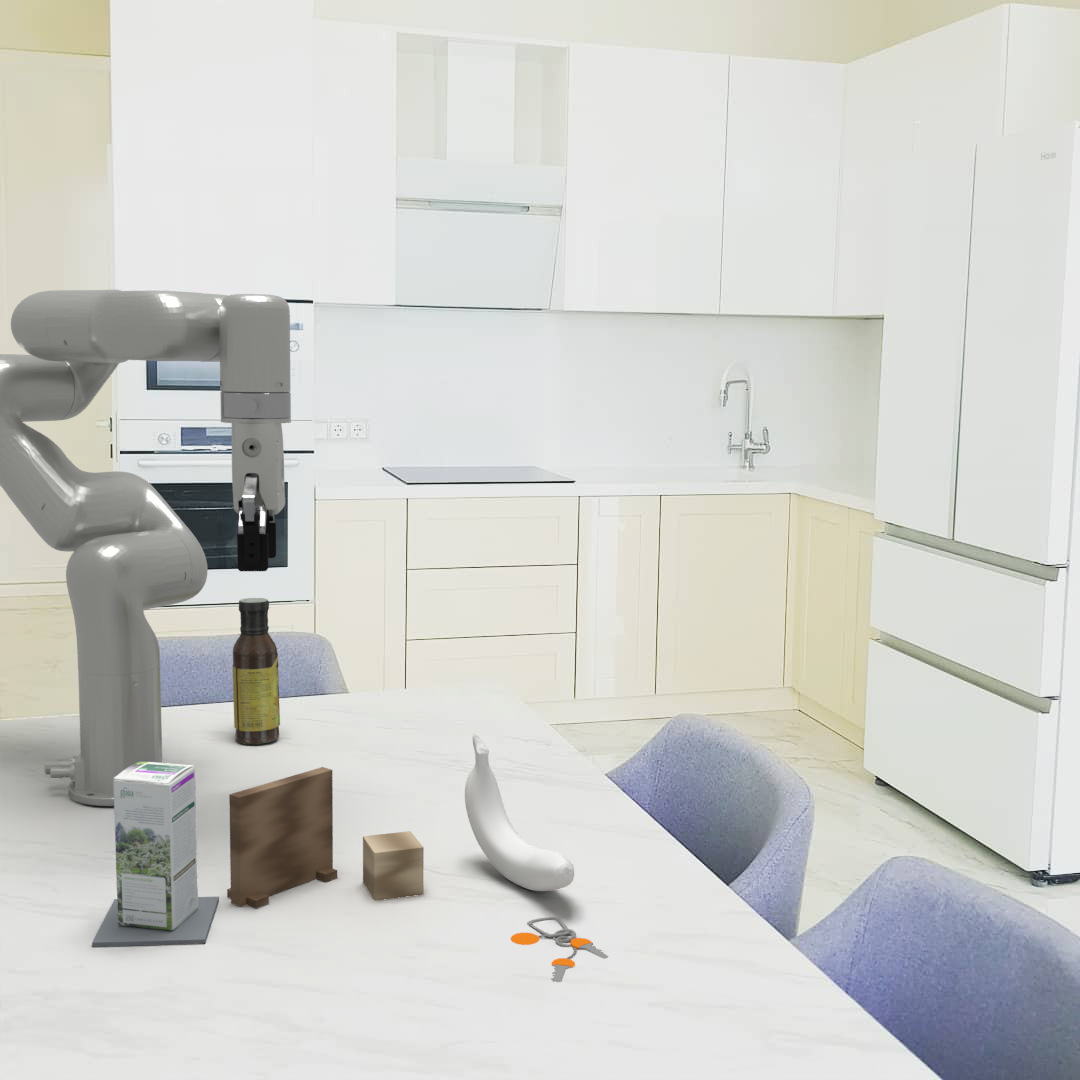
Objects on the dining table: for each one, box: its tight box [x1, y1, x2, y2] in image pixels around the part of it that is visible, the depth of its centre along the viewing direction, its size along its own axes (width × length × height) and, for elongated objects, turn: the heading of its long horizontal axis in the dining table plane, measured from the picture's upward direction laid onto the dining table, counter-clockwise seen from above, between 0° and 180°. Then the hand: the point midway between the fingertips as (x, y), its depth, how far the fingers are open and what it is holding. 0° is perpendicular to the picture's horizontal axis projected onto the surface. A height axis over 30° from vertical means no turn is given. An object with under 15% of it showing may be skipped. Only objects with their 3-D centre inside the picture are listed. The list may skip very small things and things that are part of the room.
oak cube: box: [362, 830, 425, 902], centre depth 137 cm, size 5×5×5 cm
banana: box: [464, 733, 575, 892], centre depth 138 cm, size 5×19×15 cm, turn 37°
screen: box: [226, 766, 338, 909], centre depth 136 cm, size 12×4×11 cm, turn 141°
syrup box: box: [113, 761, 199, 930], centre depth 127 cm, size 6×6×14 cm
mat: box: [91, 896, 220, 948], centre depth 128 cm, size 10×10×1 cm
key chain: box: [510, 916, 609, 983], centre depth 124 cm, size 13×7×1 cm, turn 24°
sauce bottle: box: [232, 597, 281, 746], centre depth 188 cm, size 6×6×20 cm
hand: (257, 564), depth 150 cm, fingers open, 9 cm apart
